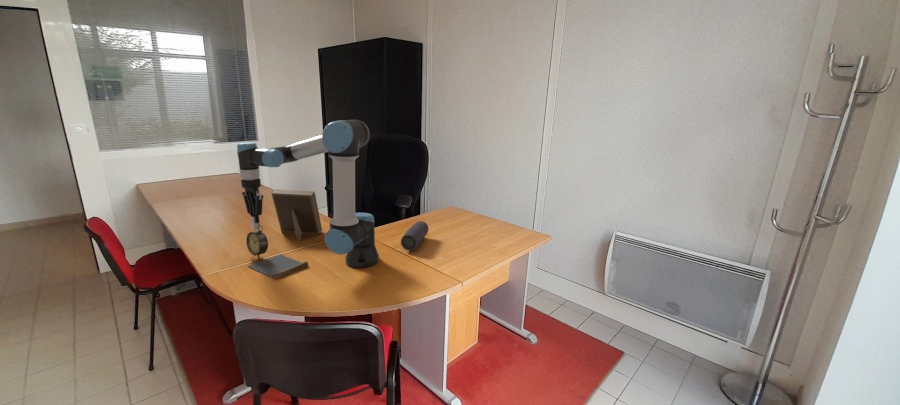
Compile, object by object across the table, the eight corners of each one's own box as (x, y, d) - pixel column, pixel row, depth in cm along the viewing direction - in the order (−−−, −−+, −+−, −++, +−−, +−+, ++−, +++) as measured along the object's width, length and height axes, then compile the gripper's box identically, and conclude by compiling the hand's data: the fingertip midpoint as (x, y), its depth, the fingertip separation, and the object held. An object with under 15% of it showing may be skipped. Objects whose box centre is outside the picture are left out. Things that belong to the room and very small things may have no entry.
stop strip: (308, 266, 166) (307, 261, 165) (274, 279, 153) (274, 274, 152) (306, 265, 167) (305, 261, 166) (272, 278, 154) (272, 273, 153)
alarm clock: (244, 248, 173) (248, 220, 167) (255, 245, 178) (260, 217, 171) (256, 262, 169) (261, 233, 162) (268, 258, 173) (273, 230, 166)
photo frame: (285, 229, 211) (281, 186, 204) (322, 232, 209) (319, 188, 202) (270, 239, 196) (265, 193, 190) (310, 241, 194) (306, 195, 188)
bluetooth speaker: (417, 253, 183) (417, 234, 180) (399, 251, 184) (399, 233, 182) (429, 238, 204) (429, 220, 202) (413, 236, 206) (413, 219, 203)
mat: (307, 265, 166) (307, 264, 166) (274, 279, 153) (274, 278, 153) (280, 255, 177) (280, 254, 176) (247, 266, 164) (247, 265, 163)
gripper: (267, 178, 162) (272, 229, 168) (250, 175, 169) (256, 224, 175) (250, 181, 156) (256, 234, 162) (233, 177, 163) (240, 228, 169)
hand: (256, 229), depth 168 cm, fingers closed
